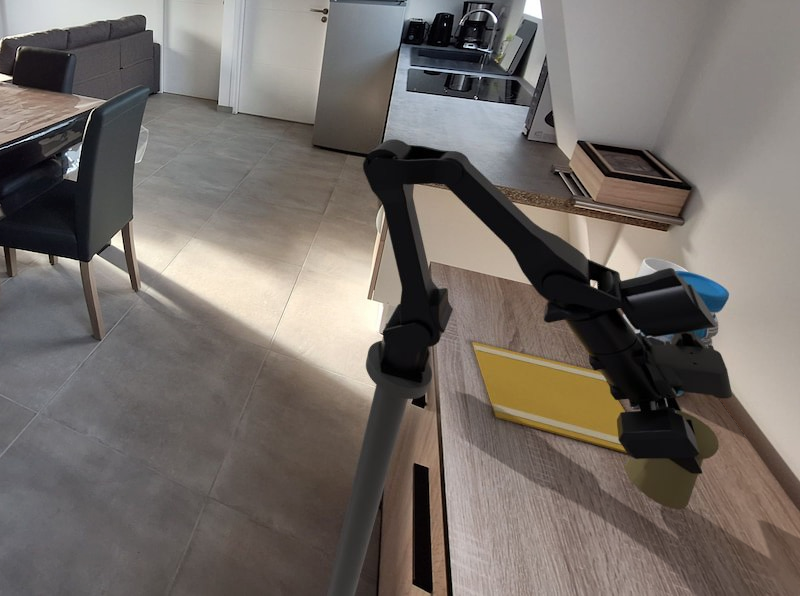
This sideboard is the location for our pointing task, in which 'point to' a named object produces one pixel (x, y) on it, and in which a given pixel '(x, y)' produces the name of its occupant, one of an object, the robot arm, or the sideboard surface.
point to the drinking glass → (651, 267)
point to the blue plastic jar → (712, 298)
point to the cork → (672, 470)
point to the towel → (550, 396)
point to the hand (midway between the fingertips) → (692, 455)
